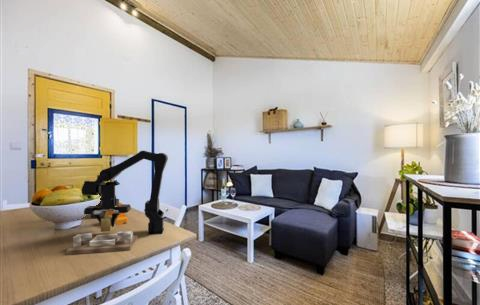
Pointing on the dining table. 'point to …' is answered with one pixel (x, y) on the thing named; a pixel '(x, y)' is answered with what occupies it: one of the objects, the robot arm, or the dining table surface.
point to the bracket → (120, 218)
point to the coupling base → (102, 242)
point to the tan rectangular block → (106, 223)
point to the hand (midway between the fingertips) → (108, 227)
